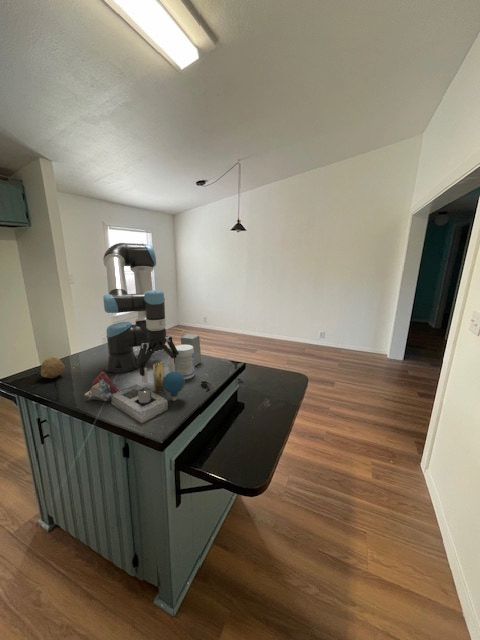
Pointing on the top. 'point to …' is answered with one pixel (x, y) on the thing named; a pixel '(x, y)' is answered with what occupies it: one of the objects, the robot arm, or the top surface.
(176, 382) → the light bulb
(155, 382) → the brass bushing
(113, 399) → the jig
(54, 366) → the natural sponge
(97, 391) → the grey red irregular piece
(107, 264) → the robot arm
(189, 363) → the supplement tub
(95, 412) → the top surface
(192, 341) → the skincare box
